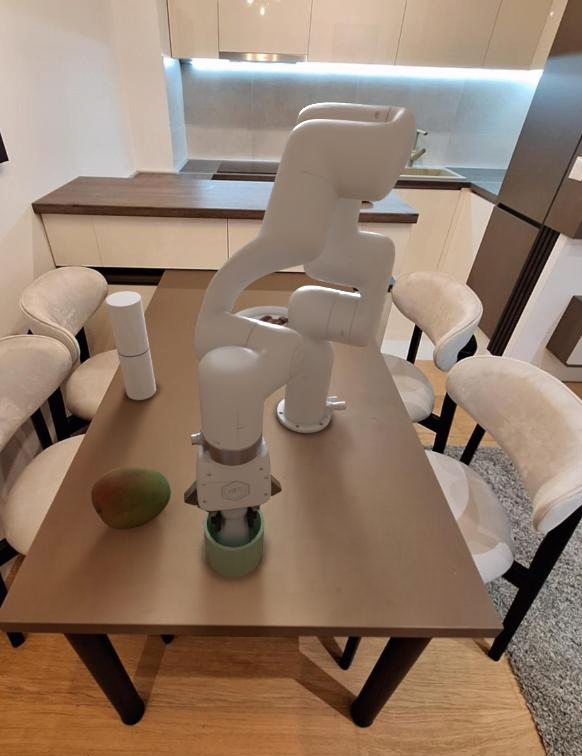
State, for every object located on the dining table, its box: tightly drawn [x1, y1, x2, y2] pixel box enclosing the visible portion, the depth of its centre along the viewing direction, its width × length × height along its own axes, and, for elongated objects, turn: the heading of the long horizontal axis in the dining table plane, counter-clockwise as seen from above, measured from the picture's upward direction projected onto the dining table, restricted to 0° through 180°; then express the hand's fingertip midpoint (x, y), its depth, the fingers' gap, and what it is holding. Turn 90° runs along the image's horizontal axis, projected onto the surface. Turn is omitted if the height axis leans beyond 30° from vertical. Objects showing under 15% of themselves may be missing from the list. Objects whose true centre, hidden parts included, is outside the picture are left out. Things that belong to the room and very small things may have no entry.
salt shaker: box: [216, 507, 252, 548], centre depth 63 cm, size 6×6×13 cm
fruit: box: [90, 466, 172, 531], centre depth 69 cm, size 12×13×10 cm
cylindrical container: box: [105, 290, 157, 401], centre depth 92 cm, size 7×7×25 cm
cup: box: [202, 508, 265, 578], centre depth 65 cm, size 9×9×8 cm
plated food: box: [234, 305, 289, 328], centre depth 121 cm, size 30×30×3 cm
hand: (233, 520), depth 62 cm, fingers closed on salt shaker, 4 cm apart
